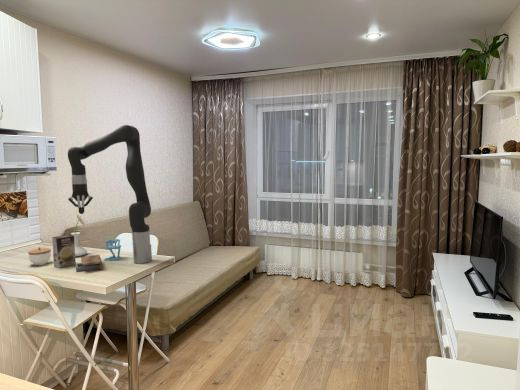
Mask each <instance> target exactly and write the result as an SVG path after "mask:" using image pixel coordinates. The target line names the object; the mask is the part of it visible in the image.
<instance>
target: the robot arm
mask: <svg viewBox="0 0 520 390" xmlns="http://www.w3.org/2000/svg"><path fill="white" fill-rule="evenodd" d="M140 137H141V136H140V131H139V130H138V129H137V127H135V126H133V125H128V124H124V125H122V126H119V127H117V128H116V129H115V130H113V131H111V132H110V133H107V134H105V135H103V136H101V137H99V138H96V139H93V140H91V141H88V142H85V144H84V145H83V146H78V147H77V146H71V147H70V148H68V150H67V158H68V162H69V165H70V167H71V188H72V194H71V195H70V197H68V199H67V200H68V202H70V203H71V204H72V205H73V206H74V207H75V208H78V214H80V215H84V213H85V207H88V205H90V203H91V201H92V200H93V199H94V198H93V197H94V196H91V195H90V194H89V191H88V179H87V170H86V169H87V168H86V165H85V164H83V163H82V161H83V160H86V159H88V158H89V157H91V156H92V155H95V154H98V153H101V152H103V151H105V150H107V148H109V147H111V146H113V145H116V144H120V143H125V144H126V149H127V156H126V161H125V172H126V179H127V181H128V183H129V185H130V187H131V189H132V190H133V192H134V196H135V199H136V202H134V203H133V202H132V204H130V206H129V208H128V218H129V219H128V220H129V226H130V228H131V236H132V237H131V238H132V254H133V258H132V259H133V263H134V264H137V265H138V264H147V263H149V262H153V257H152V256H153V255H152V254H153V253H152V244H151V237H150V236H151V234H150V233H151V232H150V231H151V230H150V225H149V224H146V221H145V218H148V217H149V216H150V215H151V213H152V207H151V206H152V205H151V203H150V199H149V194H148V190H147V184H146V183H147V182H146V177H145V171H144V166H143V158H142V152H141V141H140V140H141V138H140ZM87 199H88V200H87ZM74 200H75V201H76V202H77V203H76V202H75V201H74ZM85 201H86V202H85Z"/></svg>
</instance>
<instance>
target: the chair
mask: <svg viewBox="0 0 520 390" xmlns="http://www.w3.org/2000/svg"><path fill="white" fill-rule="evenodd" d="M120 242H121V239H118V238H116V239H113V238H107V239H106V240H105V244H106V247H105V250H109V251H110V253H111V254H112V255H111V256H109V257H106V258H104V259H103V260H104V262H105V261H106V262H107V261H119V259H120V256H121V255H120V253H121V247H122V245H121V244H120ZM113 244H114V245H113ZM113 250H118V251H117V256H116V254H115V253H114V251H113Z"/></svg>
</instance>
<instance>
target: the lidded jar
mask: <svg viewBox="0 0 520 390" xmlns="http://www.w3.org/2000/svg"><path fill="white" fill-rule="evenodd" d="M27 253H28V259H29V262H30V263H31V264H32V265H34V266H36V265H38V266H43V265H46V264H48V262H49V261H50V260H51V255H52V254H51V253H52V252H51V248H50V247H43V248H42V247H38V248H36V249H35V248H34V249H31V250H28V251H27Z"/></svg>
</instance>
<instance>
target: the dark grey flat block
mask: <svg viewBox="0 0 520 390" xmlns="http://www.w3.org/2000/svg"><path fill="white" fill-rule="evenodd" d="M93 270H99V269H98V266H97V264H92V265H85V266H83V265H82V262H80V263H76V264H75V272H76V273H78V272H86V271H93Z"/></svg>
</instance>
